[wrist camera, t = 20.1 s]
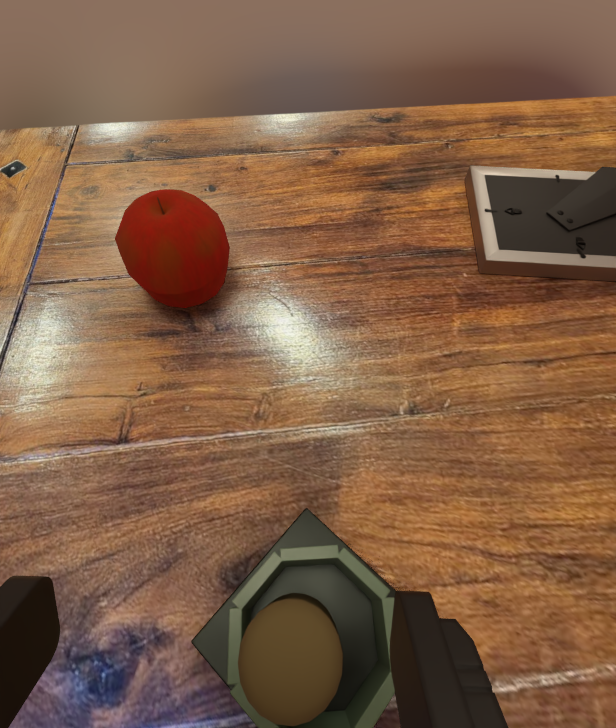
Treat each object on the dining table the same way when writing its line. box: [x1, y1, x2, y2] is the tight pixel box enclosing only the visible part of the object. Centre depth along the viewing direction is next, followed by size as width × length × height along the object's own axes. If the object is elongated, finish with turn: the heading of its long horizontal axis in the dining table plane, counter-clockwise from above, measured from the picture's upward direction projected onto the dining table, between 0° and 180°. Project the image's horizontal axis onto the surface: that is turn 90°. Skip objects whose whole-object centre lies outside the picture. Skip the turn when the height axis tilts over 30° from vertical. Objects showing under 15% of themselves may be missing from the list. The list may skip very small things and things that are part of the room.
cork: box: [238, 593, 343, 726], centre depth 24 cm, size 6×6×11 cm
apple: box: [115, 190, 230, 308], centre depth 41 cm, size 10×10×12 cm
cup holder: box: [191, 508, 396, 728], centre depth 28 cm, size 12×12×6 cm
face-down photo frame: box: [465, 166, 616, 282], centre depth 49 cm, size 16×3×21 cm
